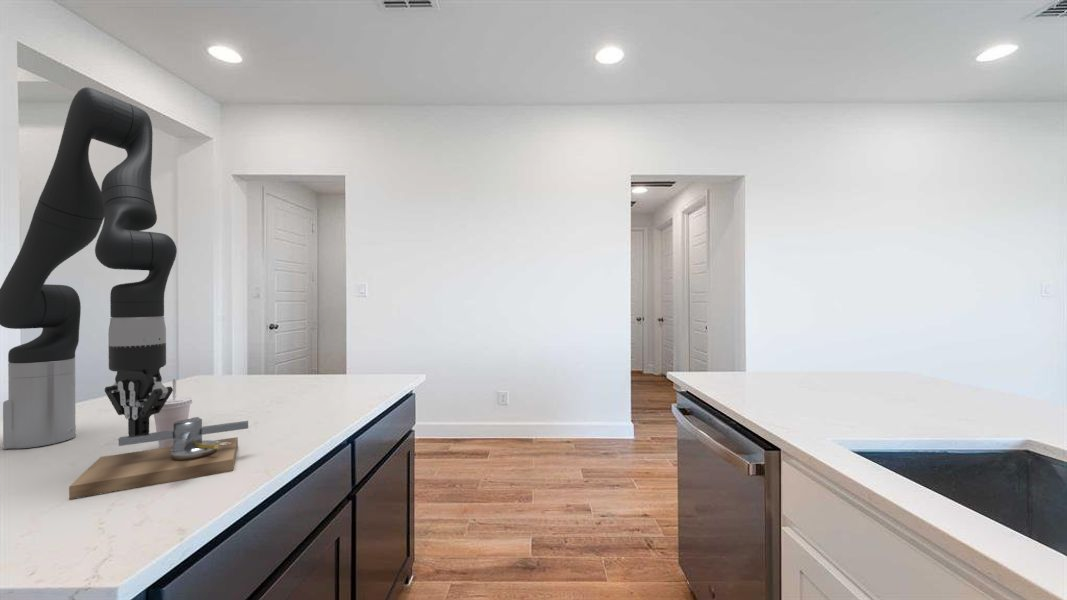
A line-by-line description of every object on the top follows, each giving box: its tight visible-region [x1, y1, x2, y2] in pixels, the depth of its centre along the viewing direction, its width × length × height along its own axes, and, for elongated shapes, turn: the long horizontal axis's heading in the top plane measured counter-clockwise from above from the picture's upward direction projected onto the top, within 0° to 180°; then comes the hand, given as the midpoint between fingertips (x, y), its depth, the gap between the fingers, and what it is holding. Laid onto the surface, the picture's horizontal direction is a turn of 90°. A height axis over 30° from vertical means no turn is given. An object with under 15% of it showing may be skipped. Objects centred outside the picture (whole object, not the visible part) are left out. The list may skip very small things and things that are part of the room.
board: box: [68, 436, 239, 500], centre depth 74 cm, size 20×14×2 cm
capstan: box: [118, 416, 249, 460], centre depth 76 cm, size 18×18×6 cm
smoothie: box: [153, 378, 193, 449], centre depth 85 cm, size 6×6×14 cm
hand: (138, 438), depth 75 cm, fingers closed
